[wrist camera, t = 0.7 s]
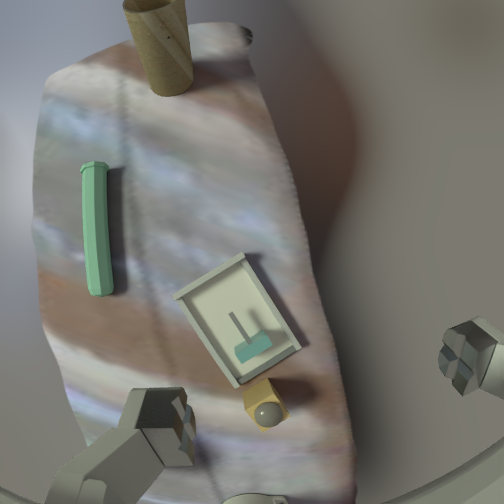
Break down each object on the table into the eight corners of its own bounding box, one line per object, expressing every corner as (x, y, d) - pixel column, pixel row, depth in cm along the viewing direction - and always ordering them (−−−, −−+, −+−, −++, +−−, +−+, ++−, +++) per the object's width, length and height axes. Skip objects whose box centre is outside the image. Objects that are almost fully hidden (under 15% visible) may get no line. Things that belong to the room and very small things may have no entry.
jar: (282, 398, 52) (291, 418, 43) (257, 413, 51) (263, 435, 42) (267, 378, 52) (274, 395, 43) (242, 392, 51) (245, 412, 42)
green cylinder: (101, 297, 45) (94, 158, 46) (81, 299, 47) (74, 168, 48) (123, 294, 50) (114, 165, 52) (102, 296, 52) (95, 174, 54)
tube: (203, 73, 56) (196, -12, 31) (174, 103, 55) (152, 18, 30) (169, 59, 56) (152, -21, 31) (141, 87, 55) (110, 8, 30)
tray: (298, 345, 53) (303, 349, 49) (234, 384, 51) (235, 391, 47) (241, 253, 53) (242, 251, 50) (175, 294, 52) (171, 295, 48)
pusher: (268, 338, 51) (273, 344, 46) (240, 356, 51) (241, 364, 45) (244, 301, 52) (246, 303, 46) (215, 319, 51) (214, 323, 46)
